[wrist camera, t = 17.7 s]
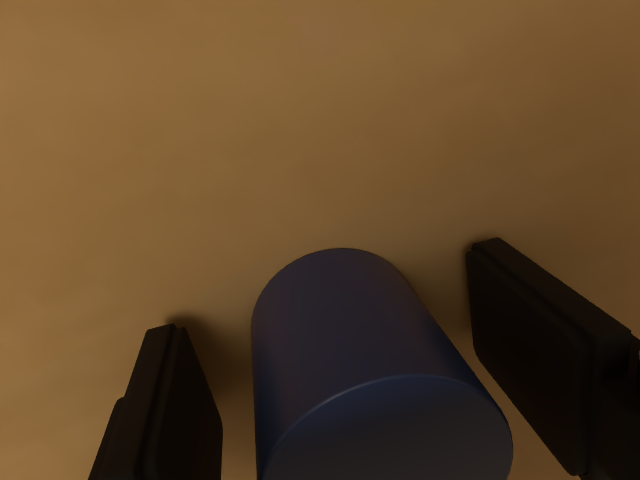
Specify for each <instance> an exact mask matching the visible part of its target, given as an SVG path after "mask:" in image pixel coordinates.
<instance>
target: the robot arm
mask: <svg viewBox="0 0 640 480" xmlns="http://www.w3.org/2000/svg"><path fill="white" fill-rule="evenodd" d="M466 268H467V280H468V291H469V303H470V314H471V326H472V337H473V346H474V350H475V353H476V355H477V357H478V359H479V361H480V362H481V363H482V364H483V366H484V367H485V368H486V370H487V371H488V372H489V373H490V375H491V376H492V377H493V379H494V380H495V381H496V382H497V384H498V385H499V386H500V387H501V389H502V390H503V391H504V393H505V394H506V395H507V396H508V398H509V399H510V400H511V402H512V403H513V404H514V405H515V407H516V408H517V409H518V410H519V412H520V413H521V414H522V416H523V417H524V418H525V419H526V421H527V422H528V423H529V425H530V426H531V427H532V428H533V430H534V431H535V432H536V433H537V435H538V436H539V437H540V439H541V440H542V441H543V442H544V444H545V445H546V446H547V447H548V449H549V450H550V451H551V453H552V454H553V455H554V456H555V458H556V459H557V460H558V462H559V463H560V464H561V465H562V467H563V468H564V469H565V470H566V471H567V473H568V474H570V475H571V476H576V475H579V477H580V478H581V479H582V480H640V340H639V339H638V338H636V337H635V336H633V335H632V334H631V330H630V329H628V328H627V327H625V326H624V325H622V324H621V323H620V322H618V321H617V320H615V319H614V318H613V317H611V316H610V315H608V314H607V313H605V312H604V311H603V310H601V309H600V308H598V307H597V306H596V305H594V304H593V303H591V302H590V301H588V300H587V299H586V298H584V297H583V296H581V295H580V294H578V293H577V292H576V291H574V290H573V289H571V288H570V287H569V286H567V285H566V284H564V283H563V282H561V281H560V280H559V279H557V278H556V277H554V276H553V275H552V274H550V273H549V272H547V271H546V270H544V269H543V268H542V267H540V266H539V265H537V264H536V263H535V262H533V261H532V260H530V259H529V258H527V257H526V256H525V255H523V254H522V253H520V252H519V251H518V250H516V249H515V248H513V247H512V246H510V245H509V244H508V243H506V242H505V241H503V240H502V239H500V238H498V237H497V238H493V239H489V240H485V241H481V242H478V243H474V244H473V245H472V249H471V251H467V253H466ZM222 442H223V427H222V421H221V417H220V414H219V412H218V409H217V407H216V404H215V402H214V399H213V396H212V394H211V391H210V389H209V386H208V384H207V381H206V378H205V376H204V373H203V371H202V368H201V366H200V363H199V360H198V358H197V355H196V353H195V350H194V348H193V345H192V342H191V340H190V337H189V335H188V332H187V330H186V329H185V327H181V328H177V326H176V325H175V324H174V323H171V324H167V325H164V326H160V327H156V328H152V329H149V330H147V332H146V334H145V337H144V340H143V343H142V346H141V349H140V352H139V355H138V358H137V360H136V363H135V366H134V369H133V372H132V375H131V378H130V381H129V384H128V387H127V390H126V393H125V396H124V397H122V398H120V399H118V400H117V402H116V404H115V406H114V408H113V411H112V414H111V417H110V419H109V422H108V425H107V428H106V431H105V433H104V436H103V439H102V442H101V445H100V447H99V450H98V453H97V456H96V459H95V461H94V464H93V467H92V470H91V473H90V475H89V478H88V480H221V464H222Z"/></svg>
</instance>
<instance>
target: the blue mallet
mask: <svg viewBox="0 0 640 480" xmlns="http://www.w3.org/2000/svg"><path fill="white" fill-rule="evenodd" d="M251 345H252V370H253V395H254V420H255V445H256V470H257V480H507V478H508V476H509V473H510V469H511V464H512V459H513V442H512V435H511V431H510V427H509V424H508V421H507V419H506V418H505V416H504V414H503V412H502V410H501V409H500V407H499V406H498V405H497V403H496V402H495V401H494V399H493V398H492V397H491V395H490V394H489V393H488V391H487V390H486V388H485V387H484V386H483V384H482V383H481V382H480V380H479V379H478V378H477V376H476V375H475V373H474V372H473V371H472V369H471V368H470V367H469V365H468V364H467V363H466V361H465V360H464V359H463V357H462V356H461V354H460V353H459V352H458V350H457V349H456V348H455V346H454V345H453V344H452V342H451V341H450V340H449V338H448V337H447V335H446V334H445V333H444V331H443V330H442V329H441V327H440V326H439V325H438V323H437V322H436V320H435V319H434V318H433V316H432V315H431V314H430V312H429V311H428V310H427V308H426V307H425V306H424V304H423V303H422V301H421V300H420V299H419V297H418V296H417V295H416V293H415V292H414V291H413V289H412V288H411V286H410V285H409V284H408V282H407V281H406V280H405V278H404V277H403V276H402V275H401V273H400V272H399V271H398V270H397V269H396V268H395V267H394V266H392V265H391V264H390V263H388V262H387V261H385V260H384V259H382V258H380V257H378V256H376V255H374V254H371V253H368V252H365V251H360V250H355V249H328V250H323V251H318V252H315V253H312V254H309V255H306V256H304V257H302V258H300V259H297V260H296V261H294V262H292V263H291V264H289V265H287V266H286V267H285V268H283V269H282V270H281V271H280V272H278V273H277V274H276V275H275V276H274V277H273V278H272V279H271V280H270V281H269V283H268V284H267V285H266V287H265V288H264V289H263V291H262V293H261V294H260V296H259V298H258V300H257V302H256V305H255V308H254V311H253V315H252V320H251Z"/></svg>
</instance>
